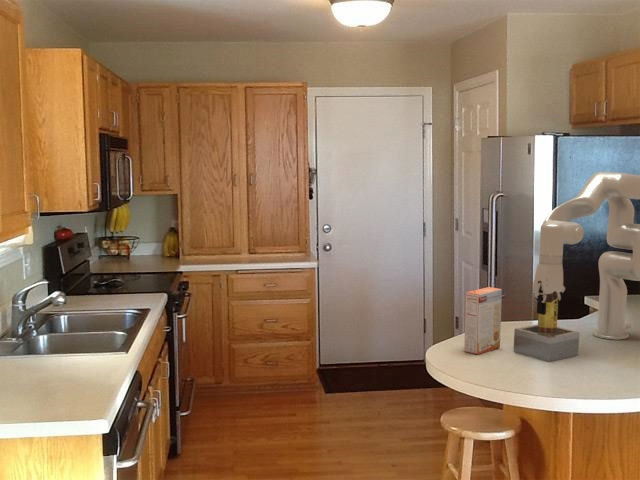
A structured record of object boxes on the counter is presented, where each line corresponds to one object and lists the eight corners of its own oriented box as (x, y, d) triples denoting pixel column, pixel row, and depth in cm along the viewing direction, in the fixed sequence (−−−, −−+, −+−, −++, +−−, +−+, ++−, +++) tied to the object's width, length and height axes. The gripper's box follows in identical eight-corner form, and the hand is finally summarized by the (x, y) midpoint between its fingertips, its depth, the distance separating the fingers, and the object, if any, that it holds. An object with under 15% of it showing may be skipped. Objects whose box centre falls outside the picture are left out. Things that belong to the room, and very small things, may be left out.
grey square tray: (546, 344, 278) (547, 322, 277) (582, 354, 266) (583, 331, 265) (513, 351, 268) (514, 328, 267) (549, 362, 256) (550, 338, 255)
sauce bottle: (557, 334, 262) (560, 275, 259) (538, 333, 263) (540, 274, 260) (555, 329, 268) (558, 272, 265) (536, 328, 269) (539, 271, 267)
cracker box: (485, 344, 277) (488, 286, 274) (500, 348, 272) (503, 288, 270) (462, 351, 267) (464, 291, 264) (477, 355, 263) (480, 293, 260)
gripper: (557, 256, 270) (555, 307, 273) (524, 260, 260) (522, 313, 263) (576, 259, 264) (573, 311, 267) (542, 263, 254) (540, 317, 257)
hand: (547, 312), depth 265 cm, fingers closed on sauce bottle, 6 cm apart
